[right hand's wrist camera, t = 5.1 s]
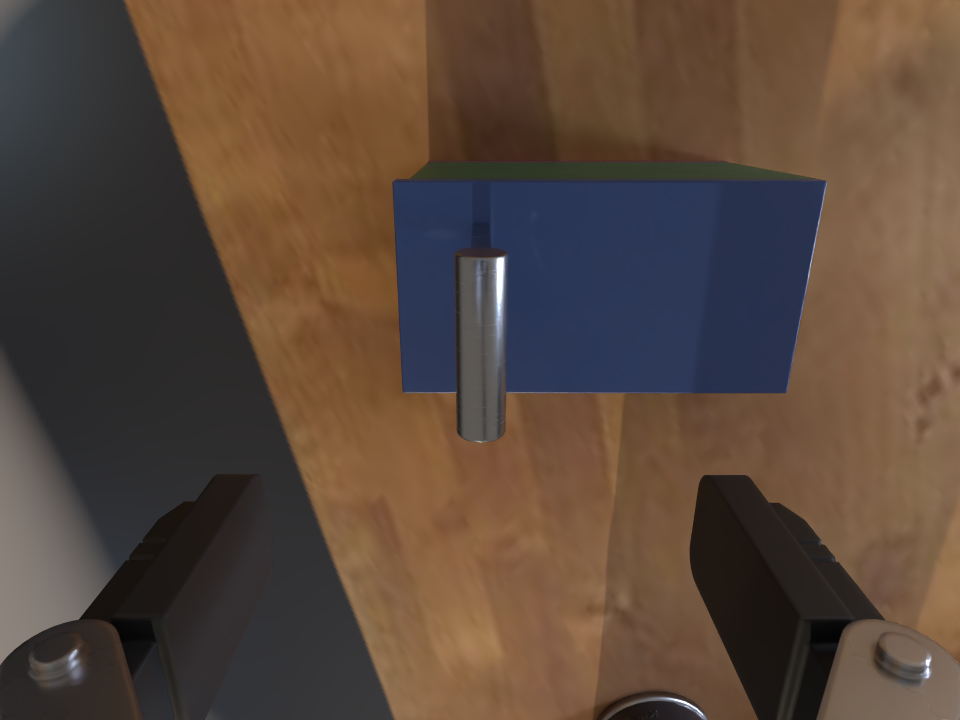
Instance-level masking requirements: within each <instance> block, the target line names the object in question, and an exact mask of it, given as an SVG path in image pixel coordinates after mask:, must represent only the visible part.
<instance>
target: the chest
mask: <svg viewBox="0 0 960 720" xmlns="http://www.w3.org/2000/svg"><path fill="white" fill-rule="evenodd" d="M410 179H814V178H809V177H804V176H798V175H793V174H788V173H782V172H777V171H772V170H766V169H761V168H756V167H750V166H745V165H739V164H734V163H729V162H725V161H429V162H428V163H427V164H426V165H425V166H424V167H423V168H422V169H420V170H419V171H418V172H417V173H416V174H415V175H414V176H413V177H411V178H410Z"/></svg>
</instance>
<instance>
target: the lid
mask: <svg viewBox="0 0 960 720" xmlns="http://www.w3.org/2000/svg"><path fill="white" fill-rule="evenodd" d="M826 185H827V182H826V181H824V180H819V179H396V180H394V181H393V203H394V223H395V244H396V264H397V285H398V306H399V326H400V347H401V368H402V388H403V393H456V416H457V433H458V435H459V436H460V437H461V438H463V439H465V440H468V441H471V442H491V441H495V440H497V439H499V438H501V437H502V436H503V435H504V433H505V425H506V393H786V392H787V387H788V382H789V377H790V372H791V367H792V361H793V356H794V351H795V346H796V341H797V335H798V330H799V325H800V320H801V315H802V309H803V304H804V299H805V294H806V289H807V283H808V278H809V273H810V268H811V263H812V257H813V252H814V247H815V242H816V237H817V231H818V226H819V221H820V216H821V211H822V205H823V200H824V195H825V190H826Z"/></svg>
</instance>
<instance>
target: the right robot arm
mask: <svg viewBox="0 0 960 720" xmlns="http://www.w3.org/2000/svg"><path fill="white" fill-rule="evenodd" d="M272 563H273V540H272V533H271V526H270V519H269V512H268V505H267V499H266V492H265V485H264V481H263V479H262V477H261V475H259V474H217V475H215V476H214V477H213V478H212V480H211V481H210V482H209V484H208V485H207V486H206V488H205V489H204V490H203V492H202V493H201V494H200V496H199V497H198V498H197V500H196V501H195V502H183V503H182V504H180V505H179V506H177V507H176V508H175V509H173V510H172V511H170V512H169V513H167V514H166V515H164V516H163V517H161V518H160V519H159V520H158V521H157V522H156V523H155V525H154V526H153V527H152V529H151V530H150V531H149V532H148V534H147V535H146V536H145V537H144V538H143V543H140V544H139V545H138V546H137V547H136V549H135V550H134V551H133V552H132V554H131V555H130V558H129V561H125V562H124V564H123V565H122V566H121V567H120V569H119V570H118V571H117V572H116V574H115V575H114V576H113V577H112V579H111V580H110V581H109V582H108V584H107V585H106V586H105V587H104V589H103V590H102V591H101V592H100V594H99V595H98V596H97V597H96V599H95V600H94V601H93V602H92V604H91V605H90V606H89V608H88V609H87V610H86V611H85V613H84V614H83V615H82V616H81V618H80V619H79V620H75V621H70V622H66V623H63V624H60V625H57V626H54V627H51V628H49V629H47V630H44V631H42V632H40V633H39V634H37V635H35V636H33V637H31V638H30V639H28V640H27V641H25V642H24V643H22V644H21V645H20V646H19V647H17V648H16V649H15V650H14V651H13V652H12V653H11V654H10V655H8V657H7V658H6V659H5V660H4V661H3V662H2V664H1V665H0V720H205V718H206V716H207V714H208V712H209V710H210V707H211V705H212V703H213V701H214V699H215V696H216V694H217V692H218V690H219V687H220V685H221V683H222V681H223V679H224V677H225V675H226V672H227V670H228V668H229V666H230V663H231V661H232V659H233V657H234V655H235V653H236V650H237V648H238V646H239V644H240V642H241V639H242V637H243V635H244V633H245V631H246V628H247V626H248V624H249V622H250V620H251V617H252V615H253V613H254V611H255V609H256V607H257V604H258V602H259V600H260V598H261V595H262V593H263V591H264V589H265V587H266V585H267V582H268V580H269V577H270V574H271V570H272ZM690 564H691V570H692V574H693V578H694V581H695V583H696V585H697V588H698V590H699V592H700V594H701V596H702V598H703V601H704V603H705V605H706V607H707V609H708V611H709V614H710V616H711V618H712V620H713V622H714V624H715V627H716V629H717V631H718V633H719V635H720V637H721V640H722V642H723V644H724V646H725V648H726V650H727V653H728V655H729V657H730V659H731V661H732V663H733V666H734V668H735V670H736V672H737V674H738V676H739V679H740V681H741V683H742V685H743V687H744V689H745V692H746V694H747V696H748V698H749V700H750V702H751V705H752V707H753V709H754V711H755V713H756V715H757V718H758V720H960V665H959V664H958V662H957V661H956V660H955V659H954V658H953V656H952V655H950V654H949V653H948V652H947V651H946V650H945V649H944V648H943V647H941V646H940V645H939V644H938V643H936V642H935V641H933V640H932V639H930V638H929V637H927V636H925V635H923V634H921V633H920V632H918V631H916V630H913V629H911V628H909V627H906V626H903V625H900V624H897V623H894V622H890V621H885V619H884V618H883V617H882V616H881V614H880V613H879V612H878V611H877V609H876V608H875V607H874V606H873V604H872V603H871V602H870V601H869V599H868V598H867V597H866V596H865V594H864V593H863V592H862V591H861V589H860V588H859V587H858V586H857V584H856V583H855V582H854V581H853V579H852V578H851V577H850V576H849V574H848V573H847V572H846V571H845V570H844V568H843V567H842V566H841V565H840V563H839V562H835V557H834V556H833V555H832V553H831V552H830V551H829V550H828V548H827V547H826V546H825V545H822V544H821V540H820V538H819V537H818V536H817V535H816V533H815V532H814V531H813V530H812V528H811V527H810V526H809V525H808V523H807V522H806V521H805V520H804V519H802V518H801V517H799V516H798V515H796V514H795V513H793V512H792V511H790V510H789V509H788V508H786V507H785V506H783V505H782V504H780V503H768V501H767V500H766V499H765V497H764V496H763V494H762V493H761V492H760V490H759V489H758V488H757V486H756V485H755V484H754V482H753V481H752V480H751V479H750V478H749V477H748V476H746V475H704V476H703V477H702V478H701V480H700V483H699V488H698V494H697V501H696V508H695V515H694V522H693V529H692V535H691V542H690ZM598 720H708V719H707V717H706V715H705V713H704V712H703V711H702V709H701V708H700V707H699V706H698V705H696V704H695V703H694V702H692V701H691V700H689V699H687V698H685V697H682V696H680V695H676V694H672V693H666V692H646V693H640V694H636V695H632V696H629V697H627V698H624V699H622V700H620V701H618V702H616V703H615V704H613V705H612V706H610V707H609V708H608V709H607V710H605V711H604V712H603V714H602V715H601V716H600V717H599V719H598Z"/></svg>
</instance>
